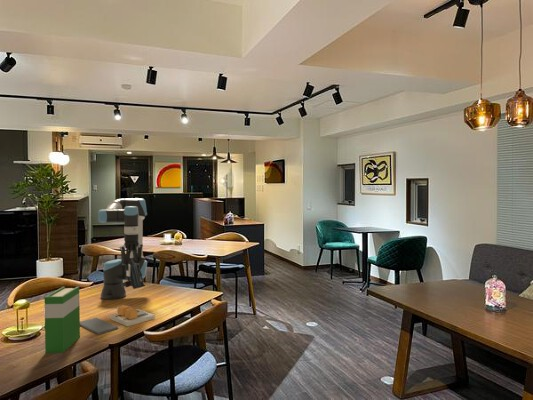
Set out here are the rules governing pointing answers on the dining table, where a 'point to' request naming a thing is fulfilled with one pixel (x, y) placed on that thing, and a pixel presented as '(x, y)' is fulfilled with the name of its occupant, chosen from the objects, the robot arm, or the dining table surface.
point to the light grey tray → (140, 318)
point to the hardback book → (62, 319)
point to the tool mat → (97, 325)
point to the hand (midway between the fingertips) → (131, 275)
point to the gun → (134, 277)
